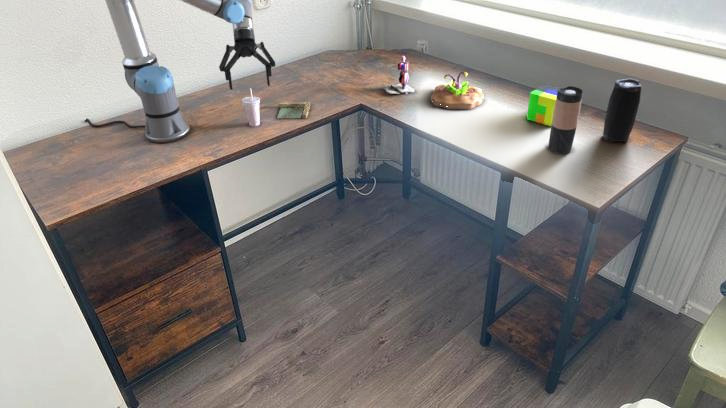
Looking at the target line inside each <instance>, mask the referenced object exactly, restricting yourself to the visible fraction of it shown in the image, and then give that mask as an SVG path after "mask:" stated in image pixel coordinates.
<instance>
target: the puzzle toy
mask: <svg viewBox="0 0 726 408" xmlns="http://www.w3.org/2000/svg"><path fill="white" fill-rule="evenodd" d="M559 88H560V87H556V86H552V85H548V84H543V85H541V86H539V87H537V88H536V89H535V90H533V91H530V93H529V99H528V100H529V102H528V108H527V114H526V120H528V121H530V122H531V121H532V122H534V123H538V124H542V125H544V126H548V127H551V124H552V118H553V113H554V107H555V102H556V96H557V91H558V89H559Z"/></svg>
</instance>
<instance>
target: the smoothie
mask: <svg viewBox="0 0 726 408" xmlns="http://www.w3.org/2000/svg"><path fill="white" fill-rule="evenodd" d="M249 93H250V96H247V97H244V98H242V99H241V104H242V105H243V109H244V111H245V115H246V118H247V122H248V124H249V126H250V127H259V126H260V124H261V121H260V119H261V118H260V102H261V99H260V97H259V96H255V95H253V92H252V88H251V87H249Z"/></svg>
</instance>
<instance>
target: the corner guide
mask: <svg viewBox="0 0 726 408" xmlns="http://www.w3.org/2000/svg"><path fill="white" fill-rule="evenodd" d="M278 108H280V110H279V112H278V114H277V117H276V119H277V120H279V119H280V120H281V119H282V120H283V119H284V120H285V119H288V120H289V119H301V118H302V119H308V115H309V111H310V108H311V102H310V101H296V102H295V101H293V102H291V101H288V102H286V101H285V102H279V103H278Z"/></svg>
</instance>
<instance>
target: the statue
mask: <svg viewBox="0 0 726 408" xmlns="http://www.w3.org/2000/svg"><path fill="white" fill-rule="evenodd" d="M405 60H406V56H405V55H402V56H401V61H399V62H398V63H397V70H398V71H399V77H398V82H399V83H396V84H390V86H389V85H388V86H381V88H382V89H383V91H384V92H385V93H386V95H392V94H397V95H402V93H405V95H408V94H410V93H411V94H413V93H416V89H414V88H413V87H411V86H410V85H409V84H407V83H408V82H409V72H408V70H409V69H410V64H409V62H407V61H405ZM409 92H410V93H409Z"/></svg>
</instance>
